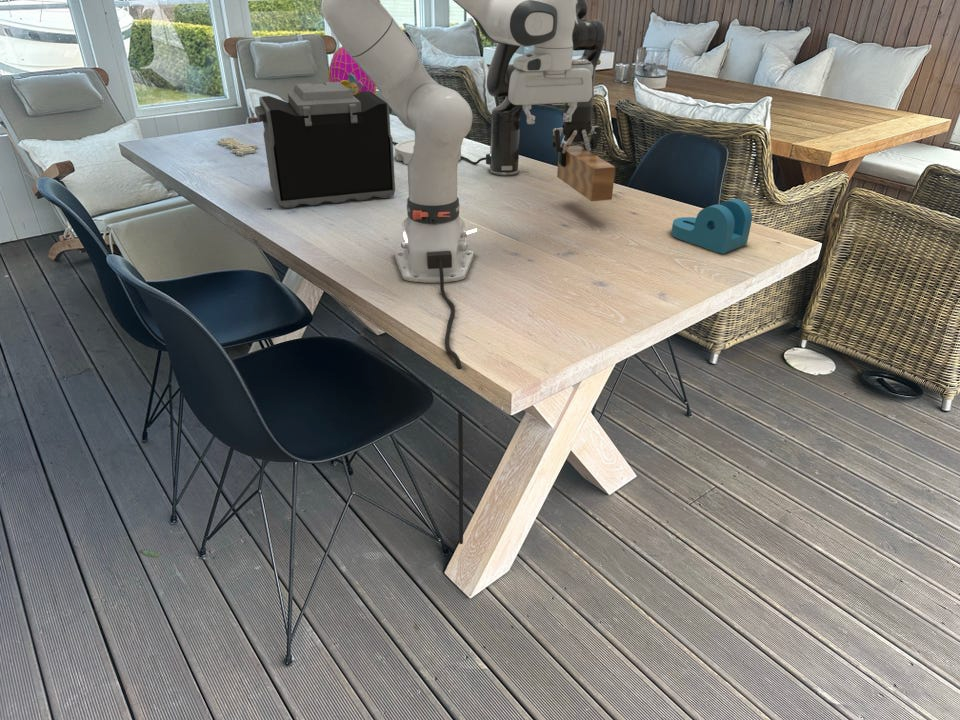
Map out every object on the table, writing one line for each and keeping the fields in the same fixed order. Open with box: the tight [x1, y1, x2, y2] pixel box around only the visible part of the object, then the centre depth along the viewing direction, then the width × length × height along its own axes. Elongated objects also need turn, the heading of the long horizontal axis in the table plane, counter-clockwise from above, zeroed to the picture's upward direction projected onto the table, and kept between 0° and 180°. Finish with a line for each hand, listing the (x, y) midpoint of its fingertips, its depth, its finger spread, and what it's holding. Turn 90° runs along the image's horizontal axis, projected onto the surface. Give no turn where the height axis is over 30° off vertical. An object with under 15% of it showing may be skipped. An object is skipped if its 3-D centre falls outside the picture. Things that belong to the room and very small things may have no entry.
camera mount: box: [670, 198, 753, 255], centre depth 173 cm, size 18×10×10 cm, turn 39°
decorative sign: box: [217, 136, 259, 156], centre depth 254 cm, size 26×1×10 cm
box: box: [556, 144, 617, 202], centre depth 187 cm, size 22×6×9 cm, turn 18°
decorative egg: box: [328, 46, 377, 96], centre depth 286 cm, size 19×19×30 cm
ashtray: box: [394, 138, 462, 165], centre depth 243 cm, size 23×23×4 cm
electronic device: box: [254, 81, 396, 209], centre depth 199 cm, size 37×22×30 cm, turn 111°
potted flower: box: [340, 73, 363, 96], centre depth 255 cm, size 9×8×25 cm
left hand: (548, 122), depth 165 cm, fingers open, 8 cm apart
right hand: (573, 165), depth 192 cm, fingers closed on box, 6 cm apart
